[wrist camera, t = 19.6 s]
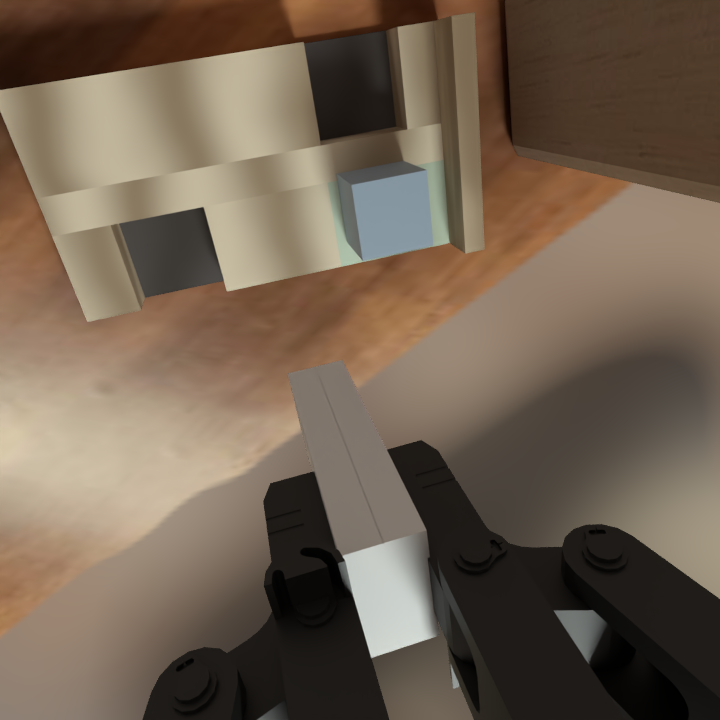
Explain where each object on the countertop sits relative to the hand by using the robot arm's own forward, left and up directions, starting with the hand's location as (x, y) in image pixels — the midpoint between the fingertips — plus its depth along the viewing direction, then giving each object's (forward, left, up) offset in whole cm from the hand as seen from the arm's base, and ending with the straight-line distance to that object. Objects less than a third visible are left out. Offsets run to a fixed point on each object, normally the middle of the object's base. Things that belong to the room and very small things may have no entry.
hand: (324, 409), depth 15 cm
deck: (0, +3, -22) cm, 22 cm away
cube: (+7, +1, -19) cm, 20 cm away
